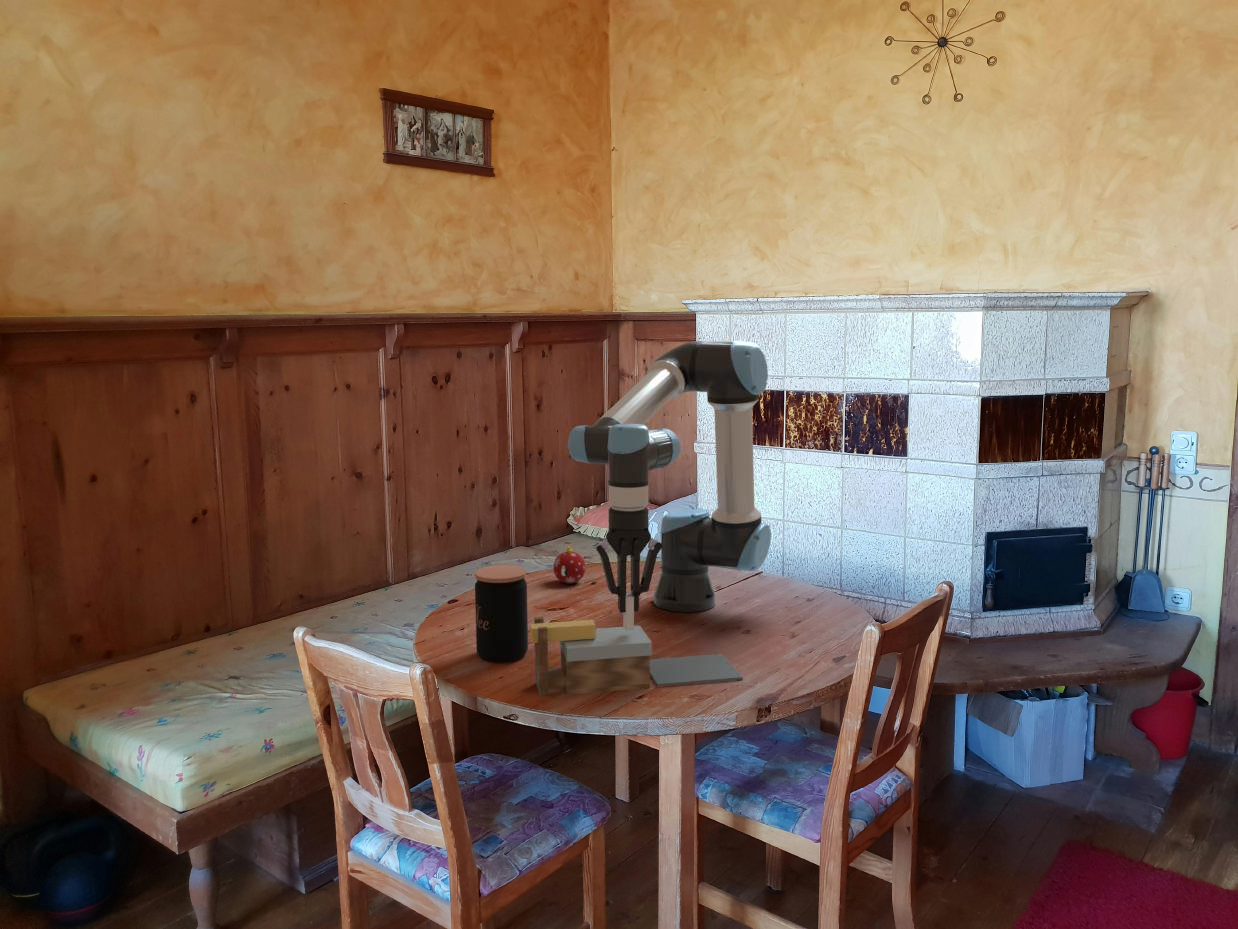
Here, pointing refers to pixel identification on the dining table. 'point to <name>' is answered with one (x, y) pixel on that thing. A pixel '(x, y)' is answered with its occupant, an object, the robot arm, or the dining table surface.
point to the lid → (609, 645)
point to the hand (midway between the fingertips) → (628, 627)
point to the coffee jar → (501, 613)
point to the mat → (692, 670)
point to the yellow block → (565, 630)
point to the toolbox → (587, 671)
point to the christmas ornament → (569, 567)
